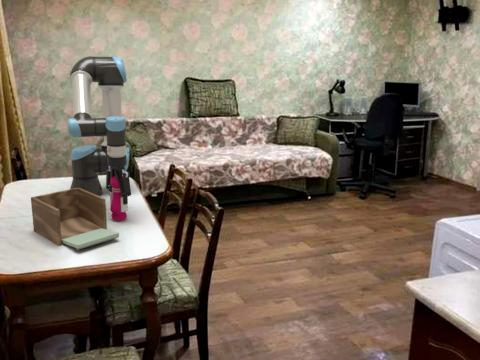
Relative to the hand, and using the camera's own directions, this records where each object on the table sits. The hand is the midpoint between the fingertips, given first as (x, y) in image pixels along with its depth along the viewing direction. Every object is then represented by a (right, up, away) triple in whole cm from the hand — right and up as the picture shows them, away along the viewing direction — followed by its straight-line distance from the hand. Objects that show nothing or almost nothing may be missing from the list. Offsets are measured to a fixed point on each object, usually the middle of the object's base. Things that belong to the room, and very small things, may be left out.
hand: (118, 208), depth 203 cm
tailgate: (-9, -8, -19) cm, 23 cm away
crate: (-16, -8, -13) cm, 22 cm away
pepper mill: (0, -4, +1) cm, 4 cm away
